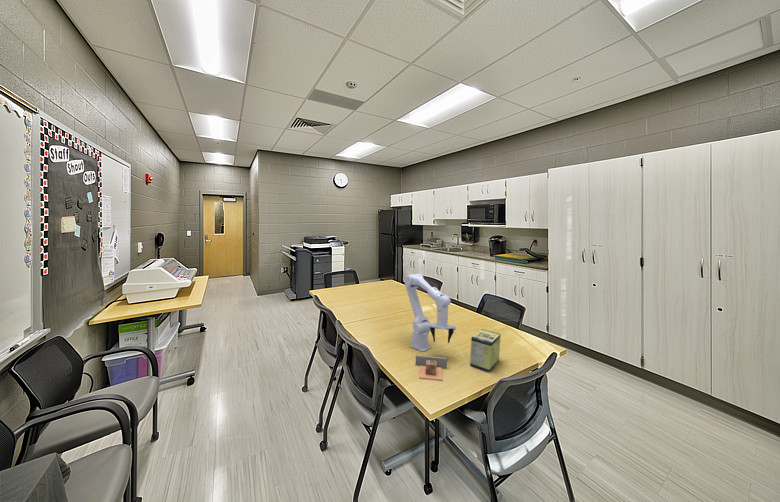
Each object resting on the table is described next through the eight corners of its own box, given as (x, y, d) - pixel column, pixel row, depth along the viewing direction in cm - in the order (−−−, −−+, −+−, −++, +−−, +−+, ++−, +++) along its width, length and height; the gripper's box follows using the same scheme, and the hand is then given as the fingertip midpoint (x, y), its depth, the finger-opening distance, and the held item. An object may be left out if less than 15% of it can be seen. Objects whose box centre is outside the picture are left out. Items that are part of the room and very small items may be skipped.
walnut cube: (425, 374, 137) (426, 364, 136) (425, 369, 142) (426, 359, 141) (436, 375, 136) (436, 365, 136) (435, 370, 141) (436, 360, 141)
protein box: (499, 361, 153) (501, 333, 151) (489, 373, 141) (491, 343, 139) (480, 355, 159) (481, 328, 157) (469, 366, 147) (470, 337, 145)
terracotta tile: (419, 378, 134) (419, 377, 134) (420, 366, 145) (420, 365, 145) (442, 380, 133) (442, 379, 133) (441, 368, 144) (441, 367, 144)
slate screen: (415, 365, 147) (415, 356, 146) (415, 364, 148) (415, 355, 147) (446, 368, 144) (447, 359, 144) (446, 367, 145) (447, 357, 145)
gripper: (428, 319, 149) (427, 343, 151) (456, 321, 147) (455, 346, 149) (428, 314, 156) (428, 338, 158) (455, 316, 154) (454, 340, 156)
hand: (441, 341), depth 154 cm, fingers open, 7 cm apart
